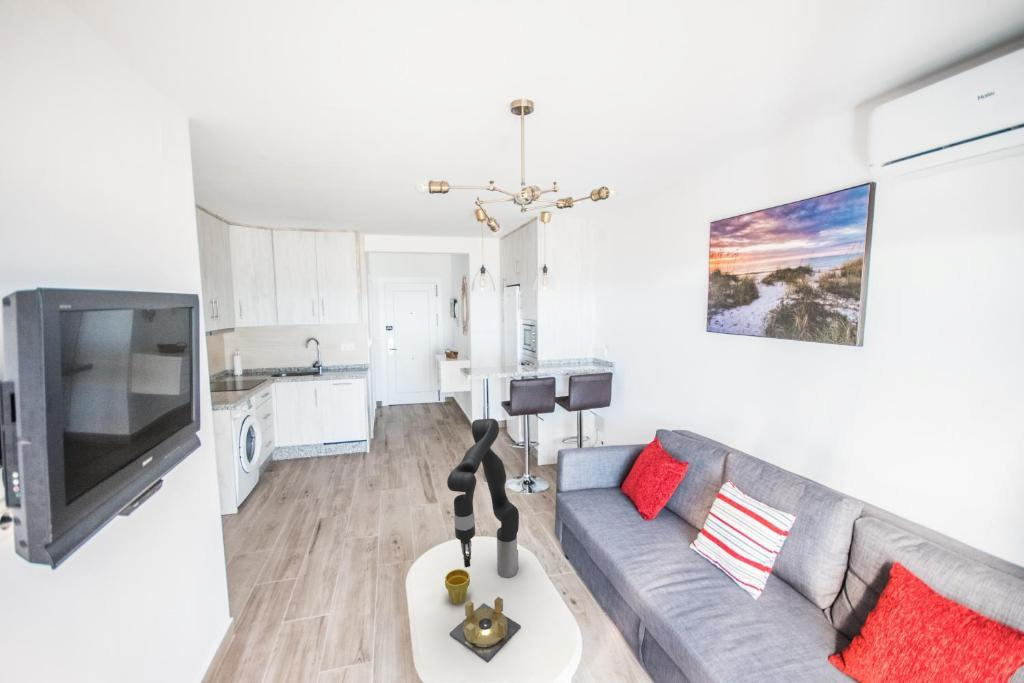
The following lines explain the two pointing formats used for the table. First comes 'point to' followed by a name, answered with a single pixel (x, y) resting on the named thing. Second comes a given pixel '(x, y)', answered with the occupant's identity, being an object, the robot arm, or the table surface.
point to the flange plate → (489, 651)
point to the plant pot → (457, 585)
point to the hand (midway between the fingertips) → (467, 565)
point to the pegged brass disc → (485, 624)
